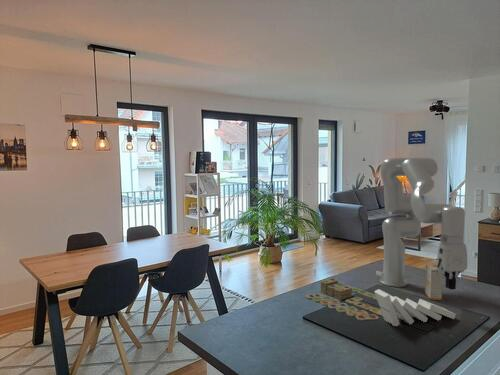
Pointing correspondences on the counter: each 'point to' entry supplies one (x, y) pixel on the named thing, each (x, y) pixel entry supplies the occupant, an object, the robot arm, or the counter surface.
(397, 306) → the domino
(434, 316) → the domino
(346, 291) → the pile of dominoes
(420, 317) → the domino
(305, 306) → the counter surface
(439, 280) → the supplement box
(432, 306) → the domino
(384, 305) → the domino
